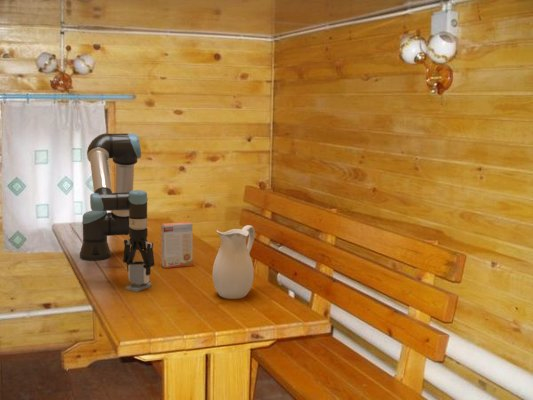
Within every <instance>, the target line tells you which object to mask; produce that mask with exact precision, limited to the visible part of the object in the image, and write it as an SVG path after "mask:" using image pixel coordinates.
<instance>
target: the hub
mask: <svg viewBox="0 0 533 400" xmlns="http://www.w3.org/2000/svg"><path fill="white" fill-rule="evenodd" d="M129 264H130V280H129V283H130V284H144V267H145V265H144V261H143V260H133V261H132V262H130V263H129Z"/></svg>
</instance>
